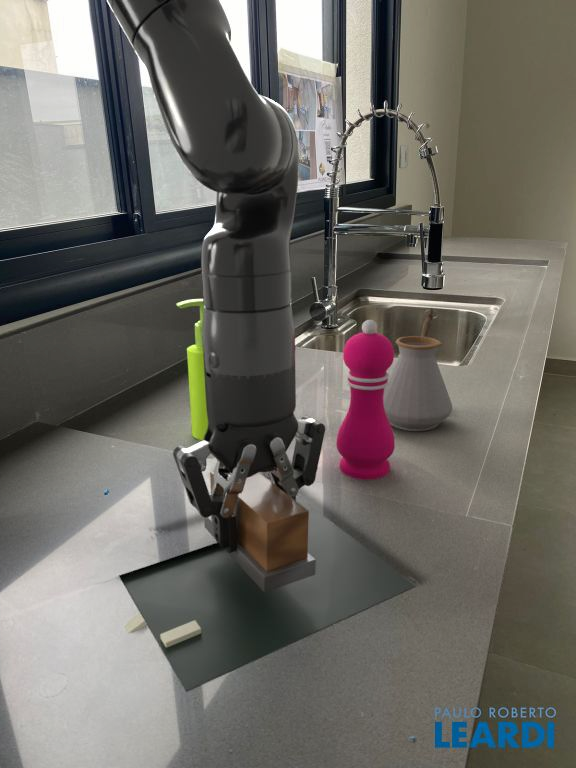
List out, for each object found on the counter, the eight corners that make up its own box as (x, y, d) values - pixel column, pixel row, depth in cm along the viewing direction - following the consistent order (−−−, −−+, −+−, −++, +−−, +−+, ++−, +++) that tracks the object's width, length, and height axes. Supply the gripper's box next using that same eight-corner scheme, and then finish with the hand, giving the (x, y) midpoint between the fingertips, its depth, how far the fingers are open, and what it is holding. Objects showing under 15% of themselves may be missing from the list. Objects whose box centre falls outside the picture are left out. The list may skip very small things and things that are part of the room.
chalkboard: (186, 702, 43) (186, 691, 43) (106, 561, 59) (105, 553, 59) (415, 595, 54) (416, 586, 54) (295, 501, 70) (295, 493, 70)
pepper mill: (396, 465, 79) (404, 315, 73) (389, 491, 72) (397, 328, 66) (341, 459, 81) (344, 312, 75) (330, 484, 74) (332, 325, 68)
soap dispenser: (182, 428, 91) (173, 297, 85) (227, 423, 93) (222, 294, 87) (188, 444, 86) (179, 305, 80) (235, 438, 88) (230, 301, 82)
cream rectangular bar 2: (115, 649, 48) (112, 645, 48) (110, 640, 49) (107, 636, 49) (147, 624, 49) (145, 620, 49) (142, 616, 50) (139, 612, 50)
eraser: (264, 592, 49) (264, 527, 47) (204, 527, 59) (202, 470, 57) (315, 574, 52) (317, 511, 50) (249, 514, 61) (249, 460, 60)
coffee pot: (446, 440, 86) (455, 338, 82) (368, 430, 90) (371, 332, 85) (459, 394, 105) (467, 309, 101) (394, 387, 109) (398, 305, 104)
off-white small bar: (166, 648, 47) (165, 643, 47) (160, 639, 48) (160, 633, 48) (201, 633, 48) (201, 628, 48) (195, 624, 49) (195, 619, 49)
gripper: (299, 337, 56) (300, 500, 61) (150, 361, 49) (166, 542, 54) (347, 355, 50) (344, 534, 55) (184, 386, 43) (199, 587, 48)
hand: (256, 537), depth 55 cm, fingers closed on eraser, 5 cm apart
